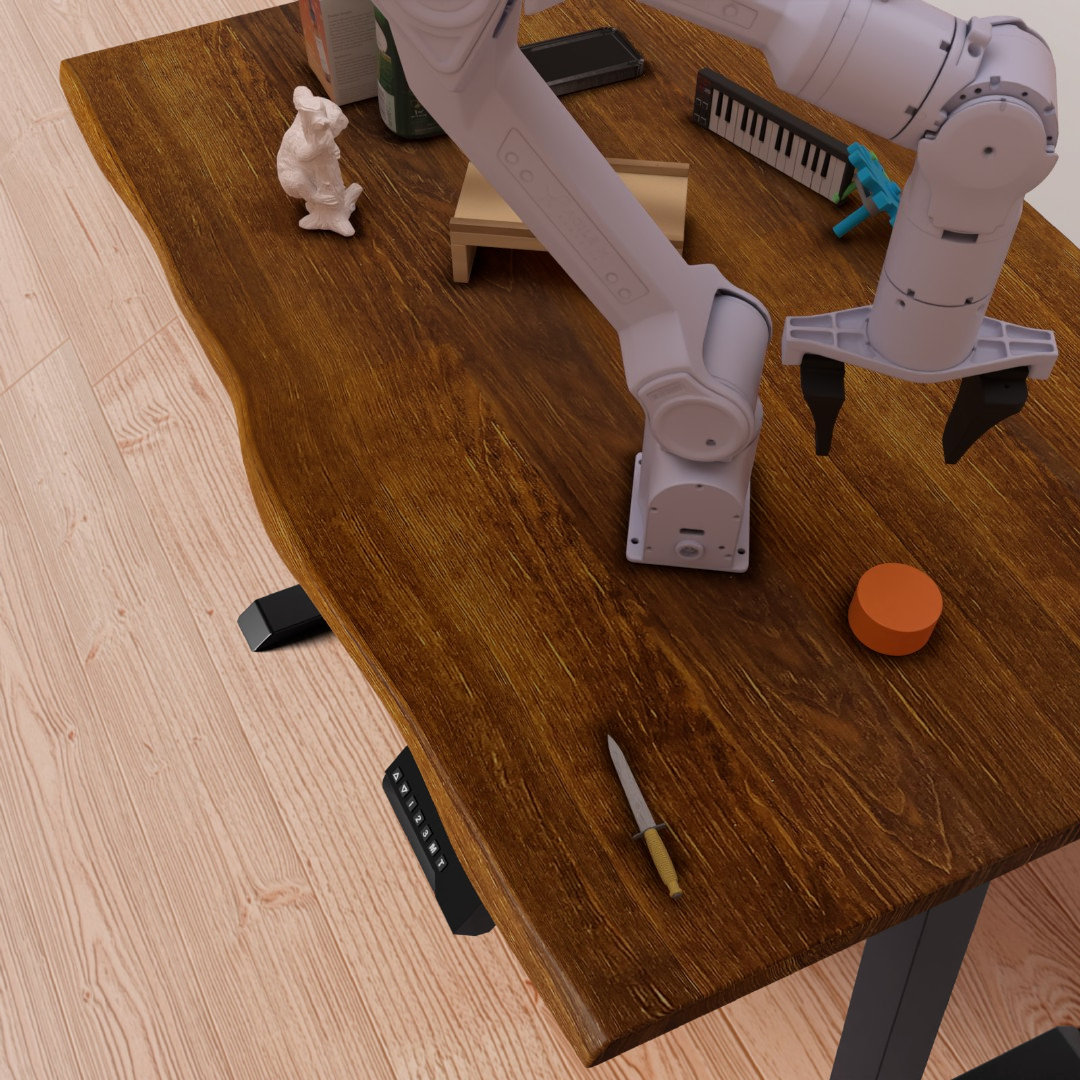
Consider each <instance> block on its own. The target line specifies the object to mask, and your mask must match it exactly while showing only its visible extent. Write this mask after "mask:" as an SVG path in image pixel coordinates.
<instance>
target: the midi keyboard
mask: <svg viewBox="0 0 1080 1080" xmlns="http://www.w3.org/2000/svg"><path fill="white" fill-rule="evenodd" d="M693 101H694V102H693V110H692V117H691V120H692V122H694V123H696V124H697V125H699V126H700V127H702V128H704V129H705V130H708V129H709V130H710V131H712V132H713V133H715V134H717V135H719V136H720V137H722V138H723V139H726V140H727V141H729V142H731V143H733V145H736V146H737V147H739V148H741V149H742V150H743V151H746V152H747V153H749V154H751V155H752V156H754V157H756V158H758V159H759V160H761V161H763V162H765V163H766V164H768V165H769V166H771V167H773V168H775V169H776V170H778V171H779V172H782V173H784V174H785V175H787V176H788V177H790V178H792V180H793V179H794V180H795V181H796V182H798V183H800V184H801V185H804V186H806V187H807V188H809V189H811V190H812V191H814V192H816V193H817V194H819V195H821V196H822V197H824V198H826V199H827V200H829V201H830V202H833V204H835V206H836V207H838V208H839V207H841V206H842V205H844V204H846V203H847V202H848V199H849V196H850V195H848V196H847V197H846V198H844V199H843V200H841V199H842V196H843V194H844V192H845V190H846V189H847V187H848V186H849V185H850V183H851V182H852V181H853V180H854V178H853V175H854V173H855V172H856V168H855V167H854V166H853V165H852V163H851V162H850V160H849V157H848V156H850V153H849V152H848V150H847V148H848V147H849V146H850V145H849V144H846V143H845V142H843V141H841V140H839V139H838V138H835V137H834V136H832V135H831V134H829V133H826V132H825V131H823V130H822V129H819V128H817V127H816V126H814V125H812V124H811V123H809V122H807V121H805V120H803V119H801V118H800V117H798V116H797V115H794V114H792V112H791V113H790V112H789V111H787V110H785V109H783V108H782V107H780V106H778V105H776V104H774V103H773V102H771V101H769V100H767V99H766V98H764V97H762V96H760V95H758V94H756V93H754V92H753V91H751V90H749V89H747V88H746V87H744V86H742V85H740V84H738V83H737V82H735V81H733V80H731V79H729V78H727V77H726V76H724V75H722V74H721V73H719V72H717V71H715V70H713V69H712V68H710V67H708V66H706V67H703V68H701V69H699V70H698V71H697V74H696V83H695V93H694V100H693ZM837 193H839V194H838V196H839V202H838V203H836V202H835V201H834V200H833V198H832V197H833V196H834V195H835V194H837Z"/></svg>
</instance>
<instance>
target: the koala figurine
mask: <svg viewBox="0 0 1080 1080" xmlns="http://www.w3.org/2000/svg"><path fill="white" fill-rule="evenodd" d="M292 96H293V98H292V102H293V104H294V108H295V110H296V111H297V114H296V115H295V118H294V120H293V123H292V124H291V125H290V127H289V128H288V129H287V130H286V131H285V133H284V134H283V137H282V141H281V143H280V147H279V149H278V152H277V155H276V168H277V178H278V180H279V182H280V186H281V187H282V189H283V191H284V192H285V194H287V195H288V196H289V197H293V198H294V199H303V200H304V201H305V203H304V205H305V209H306V211H307V212H308V213H309V214H307V215H305V216H304V217H302V218H301V219H300V220H299V221H298V226H299V227H300V228H302V229H304V230H305V229H306V230H326V231H327V230H328V231H329V230H330V231H332V232H335V233H337V234H339V235H341V236H343V237H352V236H354V235H355V232H356V230H355V229H354V227H353V225H352V223H351V222H350V220H349V219H350V217H351V214H352V213H353V212H354V211H355V210H356V203H357V201H358V199H359V198H360V196H361V194H362V192H363V191H364V188H363V187H362V185H359V183H358V182H353V183H351V184H350V185H349V186H348V187H347V186H345V185H344V184H345V182H344V181H343V177H342V171H341V168H340V163H339V160H340V159H341V150H340V147H339V146H338V145H337V143H336V141H335V139H336V137H338V136H339V135H340V134H341V132H342V131H343V130H345V129H347V127H348V124H349V119H348V117H347V116H346V115H345V114H344V113H343V110H342V109H341V108H340V106H338V105H336V104H335V103H333V102H332V100H331V99H327V98H326V97H321V96H314V94H313V92H312V91H311V89H309V88H308V87H307V86H306V85H305V86H304V85H298V86H296V87H295V88H294V90H293V94H292ZM346 187H347V188H346Z"/></svg>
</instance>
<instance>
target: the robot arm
mask: <svg viewBox="0 0 1080 1080" xmlns="http://www.w3.org/2000/svg"><path fill="white" fill-rule="evenodd" d="M371 1H372V2H373V3H374V5H375V6H376V7H377V8H378V9H379V11H380V12H381V13H382V14H383V15H384V17H385V18H386V19H387V20H388V22H389V25H390V28H391V31H392V35H393V38H394V41H395V44H396V48H397V51H398V54H399V57H400V60H401V64H402V67H403V70H404V73H405V76H406V80H407V82H408V85H409V87H410V89H411V90H412V92H413V93H414V95H415V96H416V98H417V99H418V101H419V102H420V103H421V104H422V105H423V107H424V108H425V109H426V110H427V111H428V112H429V114H430V115H431V116H432V117H433V118H434V119H435V120H436V122H437V123H438V124H439V125H440V126H441V127H442V129H443V130H444V131H445V132H446V135H447V136H448V137H449V138H450V139H451V140H452V142H453V143H455V145H456V146H457V147H458V148H459V150H460V151H461V152H462V153H463V154H464V155H465V157H466V158H467V159H468V161H469V160H470V161H471V162H472V163H473V165H474V166H475V167H476V168H477V169H478V170H479V172H480V173H481V174H482V175H483V176H484V177H485V179H486V180H487V181H488V182H489V183H490V184H491V186H492V187H493V188H494V189H495V190H496V191H497V192H498V194H499V195H500V196H501V197H502V198H503V199H504V201H505V202H506V203H507V204H508V205H509V206H510V208H511V209H512V210H513V211H514V212H515V213H516V215H517V216H518V217H519V218H520V219H521V220H522V222H523V223H524V224H525V225H526V226H527V227H528V228H529V230H530V231H531V232H532V233H533V234H534V235H535V237H536V238H537V239H538V240H539V241H540V242H541V244H542V245H543V246H544V247H545V248H546V249H547V251H546V252H548V253H549V255H550V256H551V257H552V258H553V259H554V260H555V261H556V262H557V264H558V265H559V266H560V267H561V268H562V269H563V271H565V273H566V274H567V275H568V276H569V277H570V279H571V280H572V281H573V282H574V283H575V285H576V286H577V287H578V288H579V289H580V290H581V292H583V294H584V295H585V296H586V297H587V298H588V300H589V301H590V302H591V303H592V304H593V306H594V307H595V308H596V309H597V310H598V311H599V312H600V313H601V315H602V316H603V317H604V318H605V320H607V322H608V323H609V324H610V325H611V327H612V328H613V329H615V331H616V332H617V336H618V339H619V344H620V345H619V346H620V351H621V357H622V363H623V369H624V375H625V380H626V385H627V389H628V391H629V393H630V394H631V395H632V396H633V397H634V398H635V400H636V401H637V402H638V404H640V406H641V408H642V410H643V412H644V415H645V421H644V429H643V430H644V431H643V432H644V433H643V441H642V449H641V450H642V452H641V451H640V452H638V453H637V454H636V455H635V460H634V461H635V462H634V472H633V482H632V493H631V502H630V510H629V511H630V512H629V520H628V532H627V541H626V551H625V554H626V555H625V557H626V559H627V561H629V562H631V563H635V564H636V563H637V564H647V565H658V566H668V567H678V568H688V569H699V570H708V571H718V572H729V573H739V574H741V573H745V572H747V571H748V570H749V569H748V568H749V564H750V563H749V562H750V517H751V516H750V512H751V511H750V510H751V508H750V507H751V476H752V471H753V468H754V467H753V466H754V462H755V457H756V453H757V448H758V445H759V441H760V440H759V439H760V435H761V430H762V425H763V421H764V408H763V404H762V401H761V398H760V396H759V392H760V386H761V381H762V375H763V372H764V371H763V370H764V365H765V360H766V353H767V349H768V347H769V345H770V343H771V341H772V337H773V331H774V330H773V321H772V319H771V315H770V313H769V310H768V309H767V308H766V306H765V305H764V304H763V303H762V302H761V301H760V300H759V299H758V298H757V297H755V296H754V295H752V294H751V293H749V292H748V291H745V290H743V289H741V288H739V287H738V286H736V285H735V284H733V283H731V281H729V280H728V279H727V278H726V277H725V276H724V275H723V273H721V271H720V270H719V268H718V267H717V266H716V265H715V264H713V263H700V264H692V265H690V264H688V263H687V262H686V260H685V258H683V256H682V257H681V255H680V254H679V253H678V251H677V250H676V249H675V248H674V246H673V245H672V244H671V242H670V241H669V240H668V239H667V237H666V236H665V235H664V234H663V232H662V231H661V230H660V228H659V227H658V226H657V225H656V223H655V222H654V221H653V219H652V218H651V217H650V216H649V214H648V213H647V212H646V210H645V209H644V208H643V207H642V205H641V204H640V203H639V202H638V200H637V199H636V198H635V196H634V195H633V194H632V193H631V191H630V190H629V189H628V187H627V186H626V185H625V184H624V182H623V181H622V180H621V178H620V177H619V176H618V175H617V173H616V172H615V171H614V170H613V168H612V167H611V166H610V164H609V163H608V162H607V161H606V159H605V158H606V157H604V155H603V154H602V152H601V151H600V150H599V149H598V147H597V146H596V145H595V144H594V142H593V141H592V140H591V139H590V138H589V136H588V135H587V134H586V132H585V131H584V130H583V129H582V127H581V126H580V125H579V123H578V122H577V121H576V119H575V118H574V117H573V115H572V114H571V113H570V112H569V111H568V109H567V108H566V106H565V105H564V104H563V103H562V102H561V100H560V99H559V97H557V96H556V95H555V94H554V93H553V91H552V90H551V89H550V88H549V86H548V85H547V84H546V82H545V81H544V80H543V79H542V77H541V76H540V75H539V73H538V72H537V71H536V70H535V68H534V67H533V66H532V65H531V63H530V62H529V61H528V59H527V58H526V57H525V56H524V54H523V53H522V52H521V50H520V49H519V47H518V46H519V45H518V36H519V35H518V34H519V29H520V21H521V16H522V9H523V14H524V15H526V16H532V15H535V14H538V13H541V12H543V11H546V10H548V9H551V8H552V7H554V6H556V5H557V6H558V5H560V4H561V3H564V2H566V1H567V0H371ZM635 1H636V2H638V3H641V4H643V5H646V6H649V7H651V8H654V9H657V10H658V11H661V12H664V13H666V14H669V15H671V16H674V17H677V18H679V19H681V20H685V21H686V22H689V23H692V24H694V25H696V26H698V27H702V28H705V29H707V30H709V31H712V32H713V33H714V32H715V33H718V34H720V35H723V36H724V37H727V38H730V39H732V40H735V41H738V42H740V43H743V44H744V45H745V44H746V45H748V46H750V47H753V48H756V49H758V50H760V51H761V52H762V54H763V55H764V58H765V60H766V62H767V64H768V67H769V69H770V72H771V74H772V77H773V81H774V83H775V85H776V87H777V88H778V90H781V91H783V92H785V93H786V94H789V95H792V96H793V97H796V98H797V99H800V100H801V101H804V102H806V103H808V104H811V105H812V106H814V107H816V108H819V109H821V110H823V111H825V112H827V113H829V114H831V115H833V116H836V117H838V118H840V119H843V120H845V121H847V122H849V123H851V124H853V125H854V126H856V127H859V128H862V129H863V130H866V131H868V132H870V133H872V134H874V135H876V136H878V137H881V138H883V139H885V140H887V141H888V142H891V143H893V144H895V145H898V146H899V147H902V148H905V149H909V150H912V151H914V152H917V154H916V156H915V160H914V164H913V167H912V172H911V173H910V175H909V176H908V178H907V180H906V182H905V184H904V186H903V189H902V193H901V195H900V196H901V200H900V203H899V207H898V211H897V215H896V219H895V223H894V226H892V231H891V235H890V237H889V238H890V239H889V243H888V246H887V250H886V254H885V257H884V260H883V264H882V268H881V272H880V275H879V280H878V283H877V287H876V291H875V295H874V299H873V303H872V304H868V305H863V306H858V307H852V308H847V309H842V310H837V311H831V312H827V313H821V314H814V315H801V316H796V315H795V316H793V315H787V316H786V317H785V320H784V325H783V331H782V336H781V342H780V343H781V364H782V365H784V366H799V376H800V388H801V392H802V396H803V399H804V402H805V403H806V404H807V406H808V408H809V411H810V413H811V416H812V419H813V422H814V426H815V428H814V446H815V447H814V448H815V455H816V456H817V457H828V456H829V454H830V451H831V449H832V448H831V447H832V443H833V436H834V428H835V426H836V422H837V419H838V416H839V414H840V411H841V409H842V407H843V405H844V403H845V402H846V388H845V376H846V365H845V364H848V365H851V366H855V367H858V368H860V369H861V368H862V369H865V370H869V371H872V372H875V373H878V374H882V375H885V376H888V377H891V378H895V379H898V380H901V381H905V382H909V383H915V384H916V383H917V384H937V383H943V382H948V381H953V380H958V379H961V381H960V386H959V389H958V392H957V394H956V398H955V401H954V403H953V405H952V408H951V410H950V412H949V415H948V418H947V420H946V423H945V425H944V429H943V433H942V437H941V445H942V452H943V458H944V464H945V465H954V466H955V465H957V464H958V463H959V462H960V460H961V459H962V458H963V456H964V455H965V454H966V453H967V452H968V450H970V448H971V447H972V446H973V445H974V444H975V443H976V442H977V441H978V440H979V439H981V438H982V436H983V435H985V434H986V433H987V432H988V431H989V430H990V429H992V428H993V427H995V426H996V425H998V424H1000V423H1001V422H1002V421H1004V420H1006V419H1009V418H1010V417H1012V416H1014V415H1017V414H1018V413H1020V412H1021V411H1022V410H1023V408H1024V407H1025V405H1026V404H1027V400H1028V397H1029V389H1028V384H1027V378H1029V379H1032V380H1041V381H1042V380H1043V381H1044V380H1045V381H1047V380H1049V378H1050V375H1051V373H1052V371H1053V369H1054V365H1055V364H1056V362H1057V360H1058V358H1059V350H1058V346H1057V342H1056V337H1055V333H1054V330H1051V329H1039V328H1034V327H1027V326H1023V325H1019V324H1015V323H1011V322H1008V321H1004V320H1001V319H997V318H993V317H990V316H987V315H986V313H987V310H988V307H989V304H990V302H991V299H992V296H993V294H994V290H995V288H996V285H997V284H998V280H999V277H1000V274H1001V272H1002V269H1003V266H1004V263H1005V260H1006V257H1007V255H1008V253H1009V250H1010V247H1011V244H1012V242H1013V239H1014V236H1015V233H1016V231H1017V228H1018V225H1019V221H1020V219H1021V216H1022V214H1023V208H1024V207H1023V205H1024V203H1023V202H1024V200H1025V196H1026V195H1027V194H1028V193H1030V192H1031V191H1033V190H1034V189H1035V188H1037V187H1038V186H1039V185H1041V184H1042V183H1043V182H1044V180H1046V179H1047V178H1048V176H1049V175H1050V174H1051V173H1052V171H1053V170H1054V169H1055V167H1056V164H1057V163H1058V160H1059V159H1060V155H1059V154H1058V153H1057V152H1056V148H1057V145H1058V140H1059V133H1060V132H1059V108H1058V85H1057V68H1056V64H1055V59H1054V56H1053V53H1052V49H1051V48H1050V46H1049V44H1048V42H1047V41H1046V40H1045V38H1044V37H1043V36H1042V35H1041V34H1040V33H1039V32H1037V31H1036V30H1035V29H1033V28H1032V27H1030V26H1028V25H1027V23H1026V22H1025V21H1024V20H1023V18H1021V17H1019V16H1013V15H990V16H985V17H978V16H976V15H973V16H971V17H970V18H969V20H964V19H962V18H959V17H957V16H955V15H953V14H952V13H949V12H947V11H945V10H943V9H941V8H939V7H937V6H935V5H932V3H931V4H930V3H929V2H927V1H925V0H635ZM522 7H523V8H522ZM633 542H636V543H633ZM740 553H741V554H740Z"/></svg>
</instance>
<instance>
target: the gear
mask: <svg viewBox="0 0 1080 1080" xmlns="http://www.w3.org/2000/svg"><path fill="white" fill-rule="evenodd" d="M848 146H849V147H848V148H847V150H848V152H849V153H850V156H848V157H849V160H850V162H851V163H852V165H853V166H854V167H855V170H857V171H854V175H853V180H852V182H851V183H850V185H849V186H848V187H847V189H846V190H845V192H844V194H843V196H842V199H841V200H843V199H844V198H846V197H847V196H848V195H849V196H850V195H852V193H854V192H855V191H856V190H857V192H858V194H859V198H860V200H861V202H862V204H863V205H862V206H860V207H858V208H857V209H856V210H855V211H853V212H852V213H851V214H849V215H848V216H847V217H845V218H844V219H842V220H841V221H840V222H838V223H837V224H835V226H833V227H832V230H833V232H834V233H835V235H836V236H837V237H838V238H839V239H840V238H842V237H843V236H845V235H846V234H847V233H849V232H850V231H852V230H853V229H854V228H856V227H857V226H858V225H860V224H861V223H862V222H864V221H865V220H866V219H868V218H869V217H872V218H875V217H877V216H878V215H879V214H880V213H882V212H885V213H887V215H888V216H889V218H890V219H889V220H888V221H889V223H890V225H891V227H893V226H894V223H895V219H896V215H897V211H898V207H899V203H900V200H901V196H902V192H903V190H901V188H900V186H899V185H898V184H897V183H896V181H894V180H891V179H890V178H889V177H890V176H888V174H887V173H886V170H885V168H884V167H883V166H882V164H881V163H880V162H879V158H878V157H877V154H876V153H875V152H874V151H873V150H872V149H871V150H868V149H867V147H866V146H865V145H863V144H861V145H860V144H859V142H857V141H854V142H853V143H852V144H850V145H848ZM838 194H839V193H837V194H835V195H834V196H833V197H832V198H833V200H834V201H835V202H836V203H838V202H839V196H838ZM849 196H848V197H849ZM836 203H835V204H836Z"/></svg>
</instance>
